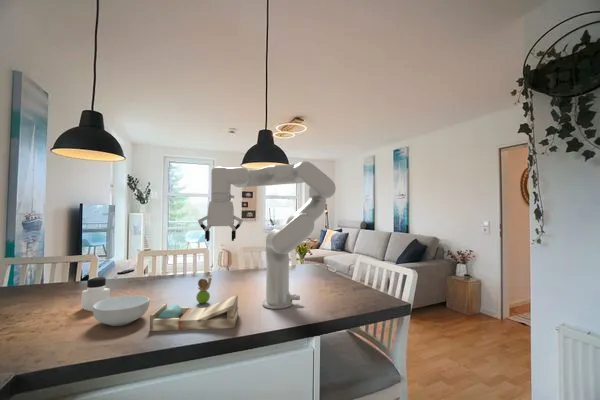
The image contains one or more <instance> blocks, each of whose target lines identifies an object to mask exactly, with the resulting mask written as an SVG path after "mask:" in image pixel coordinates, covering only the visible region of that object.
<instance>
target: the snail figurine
mask: <svg viewBox="0 0 600 400" xmlns="http://www.w3.org/2000/svg"><path fill="white" fill-rule="evenodd" d="M212 276H213V275H212V274H211V275H209V278H208V279H206V278H204V277H202V278H200V279H199V280H198V282H197V285H198V287H197V289H198V290H199V292H197V294H196V301H197V302H198V303H199V304H203V305H204V304H206V303H207V302H209V300H210V297H211V295H210V292H209V291H208V290H209V289H210V287H211V283H212Z"/></svg>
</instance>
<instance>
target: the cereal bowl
mask: <svg viewBox="0 0 600 400" xmlns="http://www.w3.org/2000/svg"><path fill="white" fill-rule="evenodd" d="M150 301H151V299H150V298H149V297H148V296H146V295H140V294H138V295H137V294H129V295H127V294H125V295H120V296H119V295H118V296H114V297H110V298H108V299H105V300H102V301H99V302H97V303H96V304H94V306H93V311H92V313H93V317H94V319H95V320H96V321H97V322H99V323H101V324H104V325H107V326H112V327H116V326H117V327H121V326H125V325H129V324H131V323H133V322H135V321H136V320H138V319H139V318H141V317H143V316H144V315H145V314H146V313H147V311H148V310H149V306H150V303H151V302H150Z"/></svg>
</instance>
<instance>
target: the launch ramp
mask: <svg viewBox="0 0 600 400" xmlns="http://www.w3.org/2000/svg"><path fill="white" fill-rule="evenodd" d="M238 299H239V295H238V294H236V295H234V296H231V297H229V298H226V299H224V300H221V301H219V302H216V303H214V304H212V305H209V306H207V307H189V306H180V308H181V314H180V316H179V317H178V318H162V319H158V316H159V315H160V314H161V313H162V312H163V311H164V310H166V309H167V308H168V307H169V306H168V305H167V304H168V303H163V304H161V306H159V307H158V308H157V309H156V310H155V311H153V312H152V313H151V314H150V315H149V331H151V332H153V331H155V332H156V331H158V332H159V331H183V330H184V331H185V330H187V331H188V330H190V331H191V330H211V329H214V330H215V329H217V330H218V329H235V326H236V323H237V319H238V317H239V306H238V301H239V300H238ZM167 306H168V307H167Z"/></svg>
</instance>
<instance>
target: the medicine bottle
mask: <svg viewBox="0 0 600 400" xmlns="http://www.w3.org/2000/svg"><path fill="white" fill-rule="evenodd" d="M106 282H107V278H106V277H104V276H94V277H91V278H89V279H87V285H86V286H87V288H86V289H85V290H82V291H81V299H80V301H81V303H80V305H81V306H80V310H83V309H84V311H88V312H92V313H93V306H94V304H96V303H97V302H99V301H102V300H105V299H108V298H111V291H112V290H111V289H110V288H107V287H106V286H107V284H106Z"/></svg>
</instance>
